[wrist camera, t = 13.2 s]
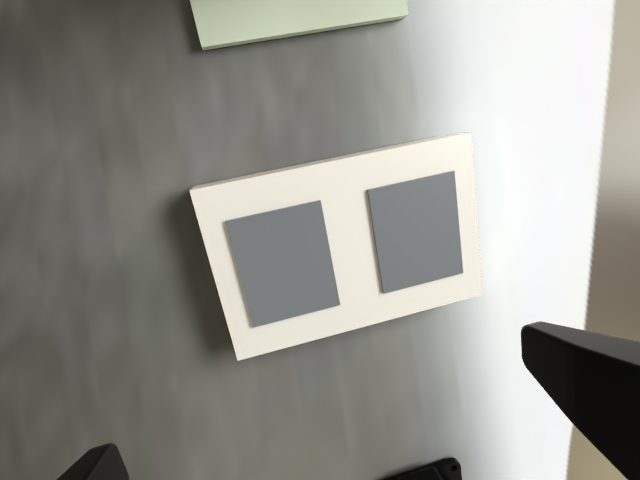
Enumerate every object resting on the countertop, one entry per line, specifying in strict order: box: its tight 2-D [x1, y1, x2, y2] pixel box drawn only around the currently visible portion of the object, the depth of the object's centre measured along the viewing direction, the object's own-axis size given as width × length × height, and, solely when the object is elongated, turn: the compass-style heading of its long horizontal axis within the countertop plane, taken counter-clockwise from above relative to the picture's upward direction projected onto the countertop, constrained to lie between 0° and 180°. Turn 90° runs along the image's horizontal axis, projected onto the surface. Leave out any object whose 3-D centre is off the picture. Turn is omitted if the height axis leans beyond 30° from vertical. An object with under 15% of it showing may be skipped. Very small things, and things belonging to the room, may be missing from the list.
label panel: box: [189, 132, 483, 361], centre depth 20 cm, size 9×14×2 cm, turn 101°
